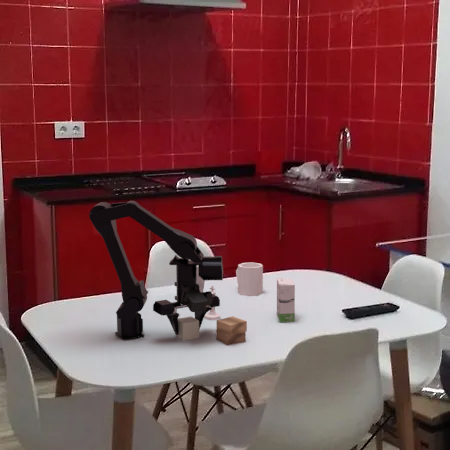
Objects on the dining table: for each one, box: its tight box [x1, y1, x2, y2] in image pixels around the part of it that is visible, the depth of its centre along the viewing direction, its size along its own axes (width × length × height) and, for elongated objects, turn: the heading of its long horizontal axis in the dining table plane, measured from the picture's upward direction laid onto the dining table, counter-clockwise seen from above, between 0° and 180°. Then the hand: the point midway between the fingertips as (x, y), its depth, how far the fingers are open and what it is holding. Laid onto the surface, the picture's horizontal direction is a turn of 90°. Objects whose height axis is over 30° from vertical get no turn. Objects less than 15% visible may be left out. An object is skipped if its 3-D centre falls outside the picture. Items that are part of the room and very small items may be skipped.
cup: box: [197, 266, 206, 292], centre depth 255 cm, size 8×8×10 cm
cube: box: [175, 316, 200, 341], centre depth 217 cm, size 5×5×5 cm
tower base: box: [215, 329, 247, 346], centre depth 214 cm, size 6×6×3 cm
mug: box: [235, 261, 264, 297], centre depth 263 cm, size 12×9×10 cm
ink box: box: [276, 277, 296, 323], centre depth 233 cm, size 9×5×12 cm, turn 2°
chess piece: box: [204, 285, 221, 321], centre depth 234 cm, size 5×5×10 cm
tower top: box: [216, 316, 248, 336], centre depth 213 cm, size 6×6×3 cm
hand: (187, 332), depth 217 cm, fingers open, 6 cm apart
